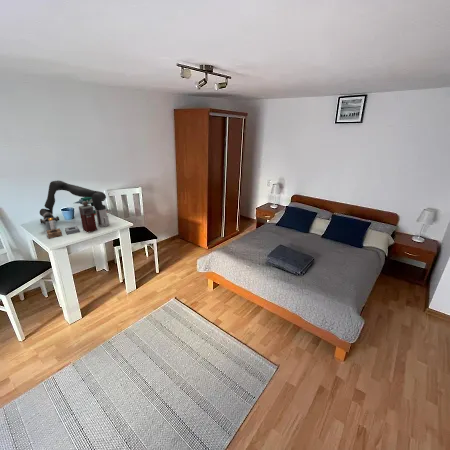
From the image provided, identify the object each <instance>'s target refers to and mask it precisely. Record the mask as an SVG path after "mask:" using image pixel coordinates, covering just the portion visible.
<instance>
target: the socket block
mask: <svg viewBox="0 0 450 450" xmlns="http://www.w3.org/2000/svg"><path fill="white" fill-rule="evenodd" d="M64 231H65V233H66V235H72V234H77V233H80V228H79V226H78V225H73V226H69V227H65V228H64Z"/></svg>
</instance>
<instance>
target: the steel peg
mask: <svg viewBox="0 0 450 450" xmlns="http://www.w3.org/2000/svg"><path fill="white" fill-rule="evenodd" d="M48 220H49V222H48V223H49V227H50V230H51V231H52V232H56V229H57V228H56V225H55V221H53V218H48Z"/></svg>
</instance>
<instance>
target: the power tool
mask: <svg viewBox="0 0 450 450" xmlns="http://www.w3.org/2000/svg"><path fill="white" fill-rule="evenodd" d="M83 201H86V202H88V205H90V206H92V207H94V205H93V201H92V197H80V199H79V200H78V201H76V202H75V201H74V204H80V205H82V202H83ZM93 211H94V216H96V211H95V209H93ZM106 212H107V213H108V211H107V210H106Z"/></svg>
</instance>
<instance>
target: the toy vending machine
mask: <svg viewBox="0 0 450 450" xmlns="http://www.w3.org/2000/svg"><path fill="white" fill-rule="evenodd" d="M78 210H79V215H80V219H81V224H82V229H83V231H84V232H86V233H87V232H88V233H92V232H94V231H97V230H98V228H97V222H96V218H95V216H96V215H94V211H93V210H94V206H91V204H88V202H86V201H83V202H82V204H81V205H79V206H78Z"/></svg>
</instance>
